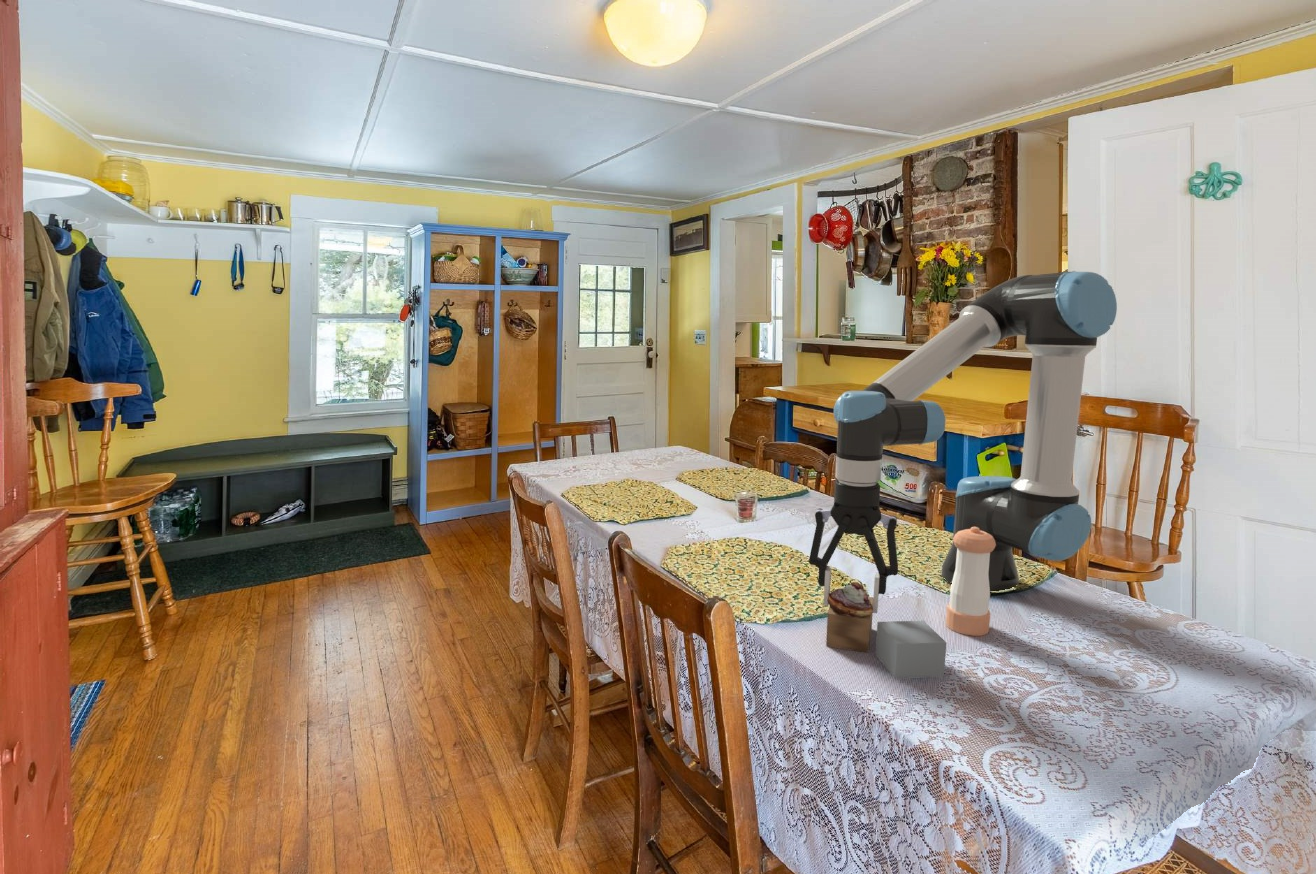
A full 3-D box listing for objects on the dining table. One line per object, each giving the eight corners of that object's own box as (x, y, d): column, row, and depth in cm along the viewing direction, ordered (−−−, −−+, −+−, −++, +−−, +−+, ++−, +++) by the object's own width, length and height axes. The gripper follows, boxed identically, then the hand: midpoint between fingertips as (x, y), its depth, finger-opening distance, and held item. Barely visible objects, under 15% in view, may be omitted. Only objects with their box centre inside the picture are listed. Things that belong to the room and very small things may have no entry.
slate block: (921, 653, 116) (923, 620, 115) (943, 677, 108) (946, 642, 107) (875, 655, 115) (877, 621, 114) (894, 679, 107) (897, 643, 106)
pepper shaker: (948, 615, 131) (956, 519, 127) (990, 623, 127) (999, 525, 124) (943, 630, 124) (950, 529, 121) (987, 639, 121) (996, 535, 118)
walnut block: (871, 628, 125) (873, 597, 124) (868, 652, 116) (869, 619, 115) (832, 622, 127) (834, 592, 126) (826, 645, 118) (827, 613, 117)
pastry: (880, 616, 116) (882, 589, 115) (839, 620, 114) (840, 592, 114) (858, 598, 124) (860, 572, 123) (820, 601, 122) (821, 574, 121)
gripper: (921, 481, 117) (912, 607, 121) (800, 472, 124) (796, 590, 128) (921, 491, 110) (912, 624, 114) (794, 480, 117) (789, 606, 121)
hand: (850, 606), depth 121 cm, fingers closed on pastry, 8 cm apart
